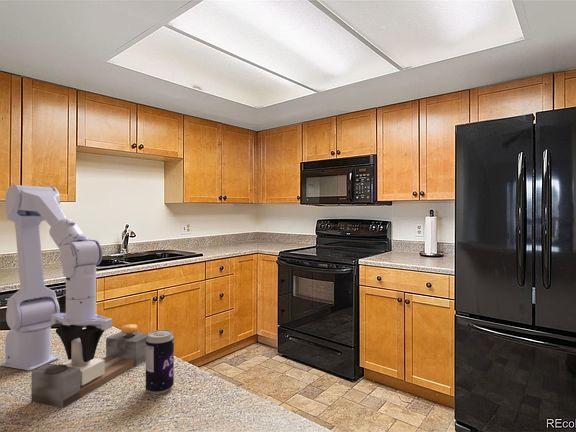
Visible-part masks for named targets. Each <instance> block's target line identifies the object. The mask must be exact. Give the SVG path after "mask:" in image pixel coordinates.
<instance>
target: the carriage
mask: <svg viewBox="0 0 576 432" xmlns="http://www.w3.org/2000/svg"><path fill="white" fill-rule="evenodd" d="M62 364H63V365H66V366H67V367H73V368H79V369H80V385H82V386H83V385H84V384H86V383H88V382H90V381H92V380H93V379H95V378H97V377H99V376H101V375H102V374H104V373H105V360H103V358H96V357H94V359H92V360H90V361H88V362H84V361H83V354H82V344H81V340H80V338H77V339H74V340H72V341H71V360H68V361H66V362H65V361H64V363H62Z"/></svg>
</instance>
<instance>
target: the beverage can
mask: <svg viewBox="0 0 576 432" xmlns="http://www.w3.org/2000/svg"><path fill="white" fill-rule="evenodd" d="M147 334H148V337H147V339H146V361H145V389H146V390H147V391H149V393H150V394H153V395H160V394H164V393H167V392H168V391H169V390H170V389H171V388H172V387H173V385H174V382H175V381H174V379H175V378H174V377H175V376H174V375H175V374H174V372H175V371H174V370H175V369H174V365H175V358H174V357H175V355H174V354H175V337H174V336H173V331H171V330H169V329H157V330H152V331H150V332H149V333H147Z"/></svg>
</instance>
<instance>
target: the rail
mask: <svg viewBox="0 0 576 432" xmlns="http://www.w3.org/2000/svg"><path fill="white" fill-rule="evenodd" d="M148 334H149V333H145V332H139V331H136V332H133V337H131V338H126V333H122V330H120V331H119V332H117V333H115V334H112V335H110V336H108V337H106V339H105V356H104V357H103V358H102V359H103V360H105V373H104V374H102V375H101V376H99V377H97V378H95V379H93V380H92V381H90V382H88V383H86V384H84V385H83V386H82V385H80V369H79V368H73V367H67V366H66V365H63V363H60V364H56V363H47V364H45V365H42V366H40V367H38V368H36V369H33V370H31V374H30V375H31V385H30V386H31V390H30V391H31V392H30V393H31V399H30V401H31V403H36V404H40V405H45V406H50V407H56V408H60V409H64V408H66V407H68V406H69V405H71V404H72V403H75V402H76V401H77V400H80V399H81V398H83V397H84V396H86V395H88V394H90V393H91V392H93V391H95V390H96V389H99V388H100V387H101V386H103V385H104V384H106V383H108V382H110V381H112V380H113V379H115V378H116V377H118V376H120V375H121V374H123V373H125V372H127V371H128V370H130V369H132V368H134V367H137V366H139V365H141V364H142V363H144V362H146V339H147V337H148Z"/></svg>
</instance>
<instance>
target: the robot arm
mask: <svg viewBox="0 0 576 432" xmlns="http://www.w3.org/2000/svg"><path fill="white" fill-rule="evenodd" d="M4 198H5V199H4V200H5V210H6V212H5V213H6V219H7V220H9V221H11V222H12V223H14V229H15V238H16V239H15V241H16V253H17V264H18V275H19V276H18V277H19V289H18V290H17V291H16V292H15V293H14V294H12V295H11V296H10V297H9V298H8V299H7V301H6V302H7V305H6V312H5V319H6V323H7V326H8V328H9V329H10V330H9V331H8V332H7V334H6V336H5V341H4V343H5V345H4V346H5V347H4V350H5V351H4V362H2V363H1V366H2V367H7V368H11V369H18V370H23V371H34V370H36V369H39V368H41V367H43V366H46V365H48V364H50V363H51V362H53V361H55V360H58V359H60V356H59V355H54V354H51V353H52V352H51V350H52V348H51V347H52V344H51V343H52V337H51V336H52V334H51V333H52V326H53V325H56V324H60V327H56V329H55V333H56V334H57V335H58V337H59V338H60V340H61V342H62V344H63V346H64V351H65V354H66V356H67V359H68V361H70V360H71V341H72V340H74V339H77V338H80V340H81V344H82V354H83V361H84V362H88V361H90V360H92V359H94V358H95V355H96V351H97V347H98V344H99V342H100V339H101V338H102V335H103V334H104V332H105V331H107V330H110V329H112V327H113V322H112V321H113V318H109V317H106V316H103V315H100V314H97V266H99V265H100V263H101V262H102V259H103V249H102V246H101V244H100V242H99V241H98V240H97V239H92V238H91V237H87V236H86V234H85V232H83V230H82V229H81V228H80V226H79V225H78V223H77V222H76V221H75V220H74V219H70V218H67V217H66V215H65V213H64V211H63V210H62V207H61V206H60V202H61V195H60V192H59V191H58V189H57V188H56V187H55V186H38V185H37V186H36V185H35V186H34V185H18V184H17V183H16V184H13V183H12V184H11V185H10V186H9V187H8V189H7V190H6V194H5V197H4ZM43 221H45V222H46V224H48V225H49V226H50V228H49V229H48V230H49V231H48V232H49V236H50V237H51V239H52V241H53V242H54V244H55V245H56V247H58V249H59V251H60V254H59V259H60V260H59V261H60V264H61V266H62V274H63V276H64V277H65V312H60V310H61V308H60V304H59V301H58V299H57V294H56V291H54V290H52V289H51V288H49V287H47V286H45V280H44V279H45V277H44V269H43V268H44V267H43V266H44V265H43V254H42V244H41V234H40V233H41V232H40V224H41V223H42V222H43ZM40 298H41V299H40ZM34 299H35V300H34ZM28 300H30V301H28ZM24 301H25V302H24ZM84 327H85V328H84Z"/></svg>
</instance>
